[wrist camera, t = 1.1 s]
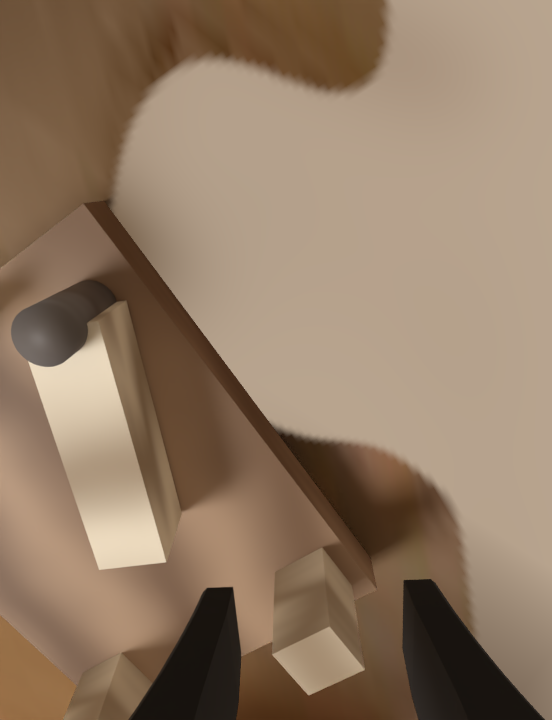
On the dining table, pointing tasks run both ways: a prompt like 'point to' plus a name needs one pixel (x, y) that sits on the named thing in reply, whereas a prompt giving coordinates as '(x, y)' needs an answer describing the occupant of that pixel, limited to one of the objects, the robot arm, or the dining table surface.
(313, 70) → the dining table surface
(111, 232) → the stool seat
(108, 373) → the stool leg
